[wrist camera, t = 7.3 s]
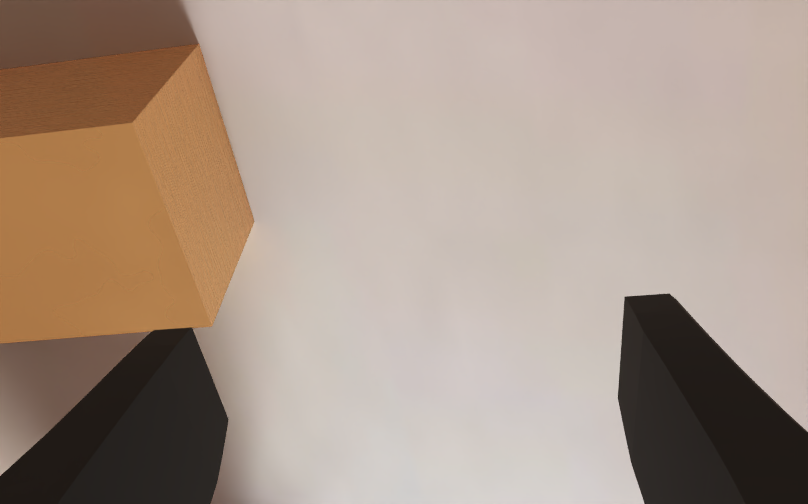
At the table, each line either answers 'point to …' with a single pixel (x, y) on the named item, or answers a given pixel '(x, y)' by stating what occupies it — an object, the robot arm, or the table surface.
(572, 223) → the table surface
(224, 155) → the block
